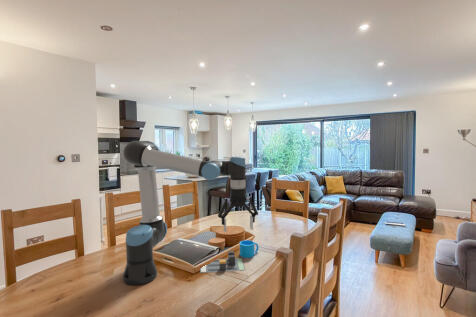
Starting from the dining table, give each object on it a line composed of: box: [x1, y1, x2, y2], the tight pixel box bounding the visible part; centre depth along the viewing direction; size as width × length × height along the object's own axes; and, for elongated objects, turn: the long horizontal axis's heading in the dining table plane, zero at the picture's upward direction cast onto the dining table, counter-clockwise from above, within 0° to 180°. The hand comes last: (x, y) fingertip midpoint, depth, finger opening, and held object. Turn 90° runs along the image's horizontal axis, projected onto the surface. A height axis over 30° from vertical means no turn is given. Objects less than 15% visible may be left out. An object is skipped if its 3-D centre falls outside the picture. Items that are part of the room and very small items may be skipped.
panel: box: [199, 257, 246, 274], centre depth 134 cm, size 22×14×2 cm, turn 96°
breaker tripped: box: [220, 260, 226, 270], centre depth 129 cm, size 3×2×4 cm
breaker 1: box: [227, 250, 235, 260], centre depth 139 cm, size 3×2×4 cm
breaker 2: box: [229, 254, 236, 265], centre depth 135 cm, size 3×2×4 cm
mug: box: [239, 239, 260, 259], centre depth 148 cm, size 12×8×8 cm
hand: (238, 230), depth 132 cm, fingers open, 13 cm apart
